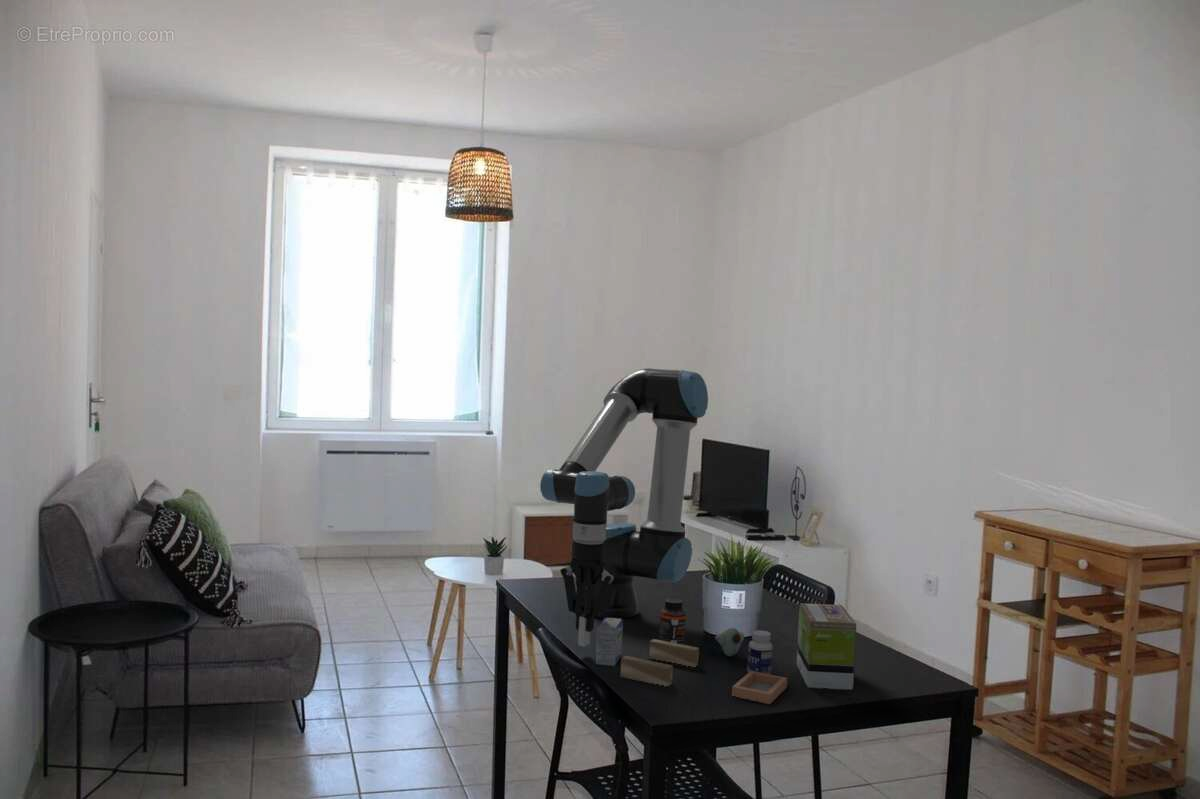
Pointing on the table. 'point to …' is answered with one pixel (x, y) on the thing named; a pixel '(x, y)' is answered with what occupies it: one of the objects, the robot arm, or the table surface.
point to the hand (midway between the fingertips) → (583, 644)
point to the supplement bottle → (672, 622)
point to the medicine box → (609, 641)
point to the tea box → (826, 646)
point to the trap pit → (759, 687)
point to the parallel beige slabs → (659, 671)
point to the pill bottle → (760, 652)
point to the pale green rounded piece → (730, 641)
